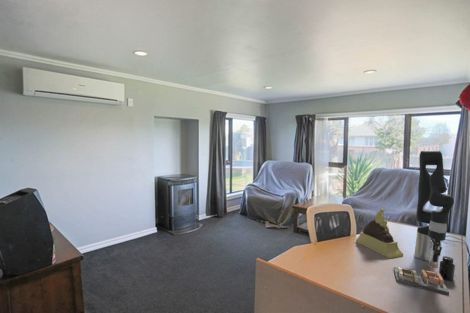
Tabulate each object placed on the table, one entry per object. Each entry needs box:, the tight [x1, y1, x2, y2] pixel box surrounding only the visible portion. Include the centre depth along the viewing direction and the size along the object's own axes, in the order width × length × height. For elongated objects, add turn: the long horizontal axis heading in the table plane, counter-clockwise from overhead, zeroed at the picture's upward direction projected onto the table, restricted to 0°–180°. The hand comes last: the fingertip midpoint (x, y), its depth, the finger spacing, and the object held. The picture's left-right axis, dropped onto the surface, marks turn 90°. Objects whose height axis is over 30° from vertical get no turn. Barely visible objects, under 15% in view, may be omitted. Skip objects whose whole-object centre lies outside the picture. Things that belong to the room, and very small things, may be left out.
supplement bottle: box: [438, 255, 456, 282], centre depth 152 cm, size 7×7×12 cm
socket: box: [420, 269, 445, 286], centre depth 146 cm, size 8×8×3 cm
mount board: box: [393, 266, 450, 296], centre depth 147 cm, size 16×23×4 cm
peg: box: [428, 247, 440, 269], centre depth 145 cm, size 4×4×10 cm
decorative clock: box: [355, 208, 404, 259], centre depth 188 cm, size 28×13×30 cm, turn 22°
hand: (433, 259), depth 145 cm, fingers closed on peg, 4 cm apart
